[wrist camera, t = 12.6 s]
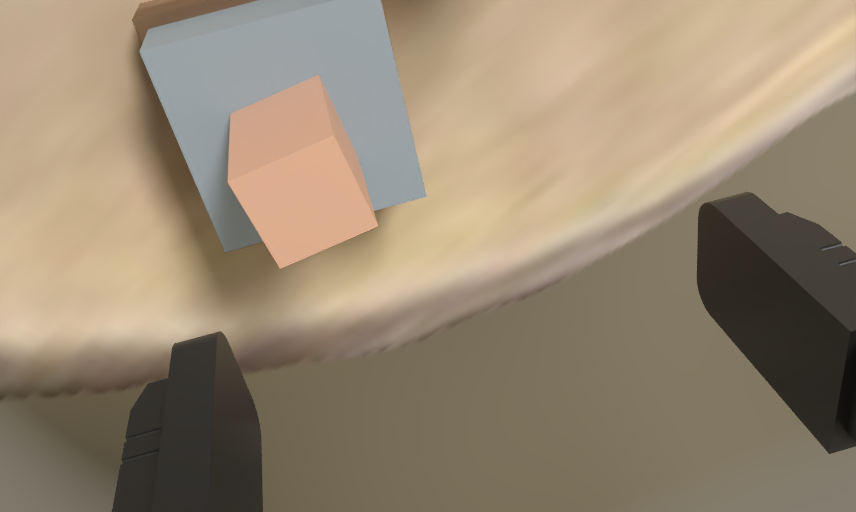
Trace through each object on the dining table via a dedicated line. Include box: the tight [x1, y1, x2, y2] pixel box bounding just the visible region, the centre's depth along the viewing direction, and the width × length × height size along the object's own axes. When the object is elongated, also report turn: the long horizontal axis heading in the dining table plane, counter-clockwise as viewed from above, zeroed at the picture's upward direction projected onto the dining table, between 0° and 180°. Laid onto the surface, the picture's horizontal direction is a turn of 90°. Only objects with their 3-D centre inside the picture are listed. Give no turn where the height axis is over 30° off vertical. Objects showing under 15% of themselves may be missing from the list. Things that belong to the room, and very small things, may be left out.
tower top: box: [139, 0, 426, 252], centre depth 42 cm, size 12×12×4 cm
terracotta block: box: [227, 75, 378, 269], centre depth 37 cm, size 5×5×8 cm
